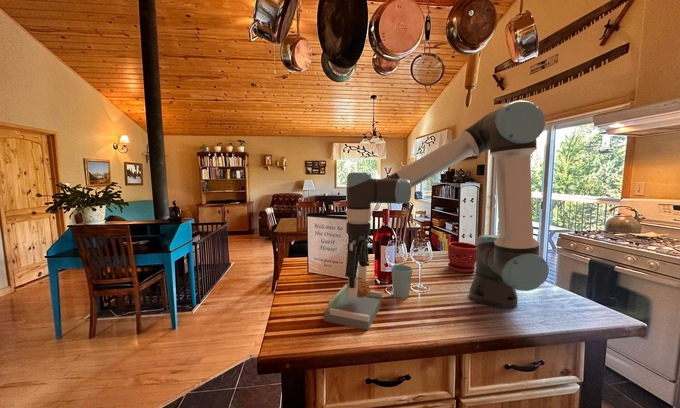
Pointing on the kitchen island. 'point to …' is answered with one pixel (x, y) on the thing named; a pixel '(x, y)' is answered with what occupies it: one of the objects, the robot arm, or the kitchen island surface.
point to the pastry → (362, 288)
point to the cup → (401, 280)
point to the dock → (353, 309)
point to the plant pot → (462, 256)
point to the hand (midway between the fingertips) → (357, 290)
